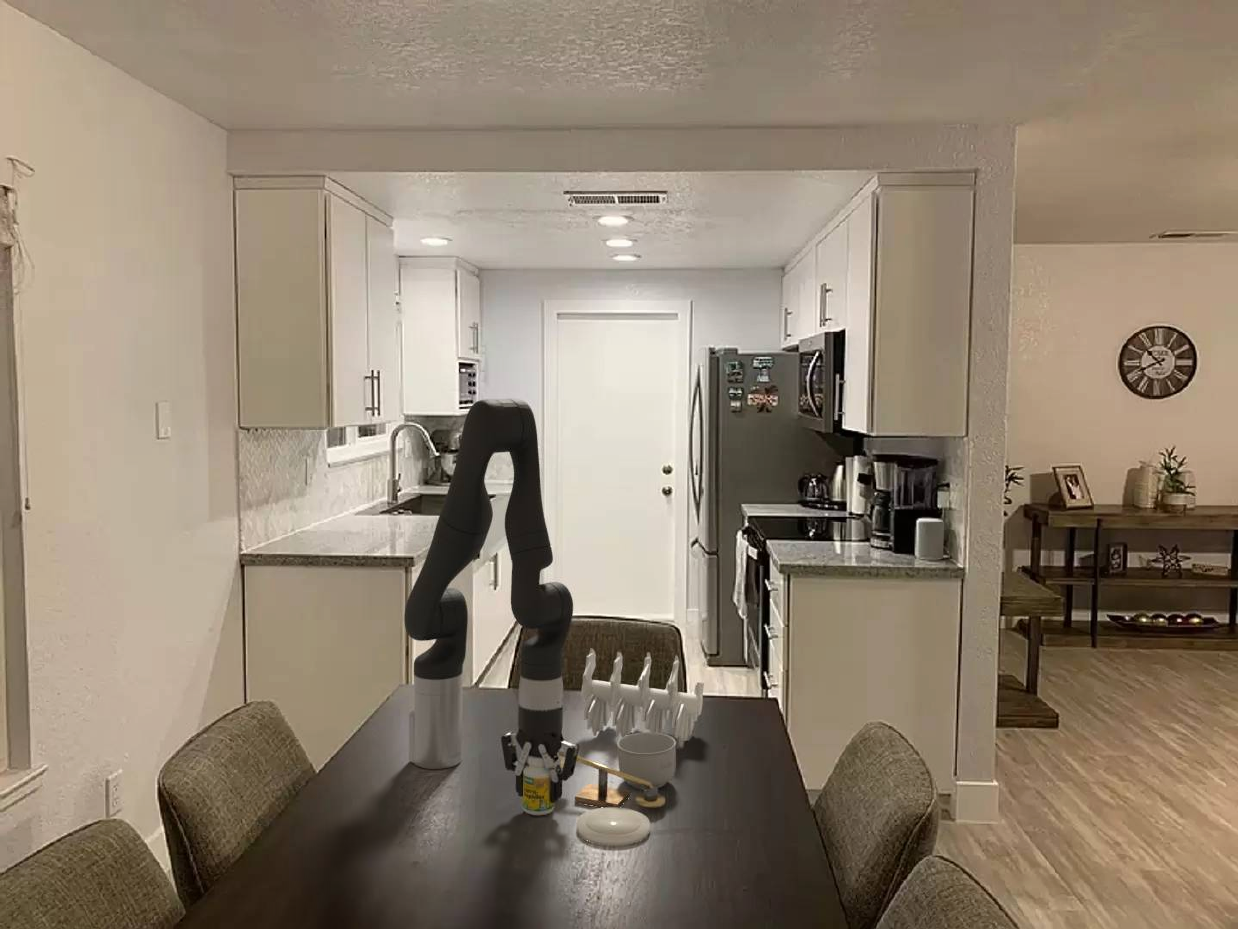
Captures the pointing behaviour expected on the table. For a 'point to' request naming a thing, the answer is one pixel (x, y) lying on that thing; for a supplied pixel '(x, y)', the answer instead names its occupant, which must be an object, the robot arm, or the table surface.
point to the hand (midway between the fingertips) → (538, 797)
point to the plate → (613, 826)
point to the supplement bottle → (536, 787)
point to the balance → (611, 796)
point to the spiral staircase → (638, 701)
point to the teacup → (647, 757)
